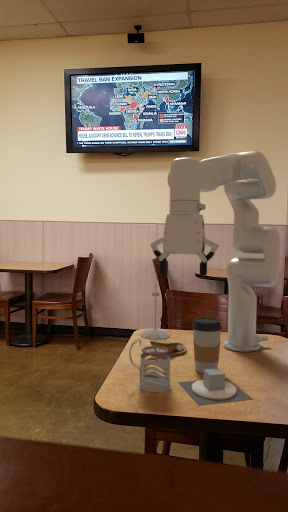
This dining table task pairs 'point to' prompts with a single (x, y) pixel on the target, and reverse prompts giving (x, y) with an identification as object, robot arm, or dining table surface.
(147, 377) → the french press
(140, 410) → the dining table surface
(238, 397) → the mat
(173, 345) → the toy sandwich meal
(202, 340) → the coffee cup
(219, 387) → the lid
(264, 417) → the dining table surface
